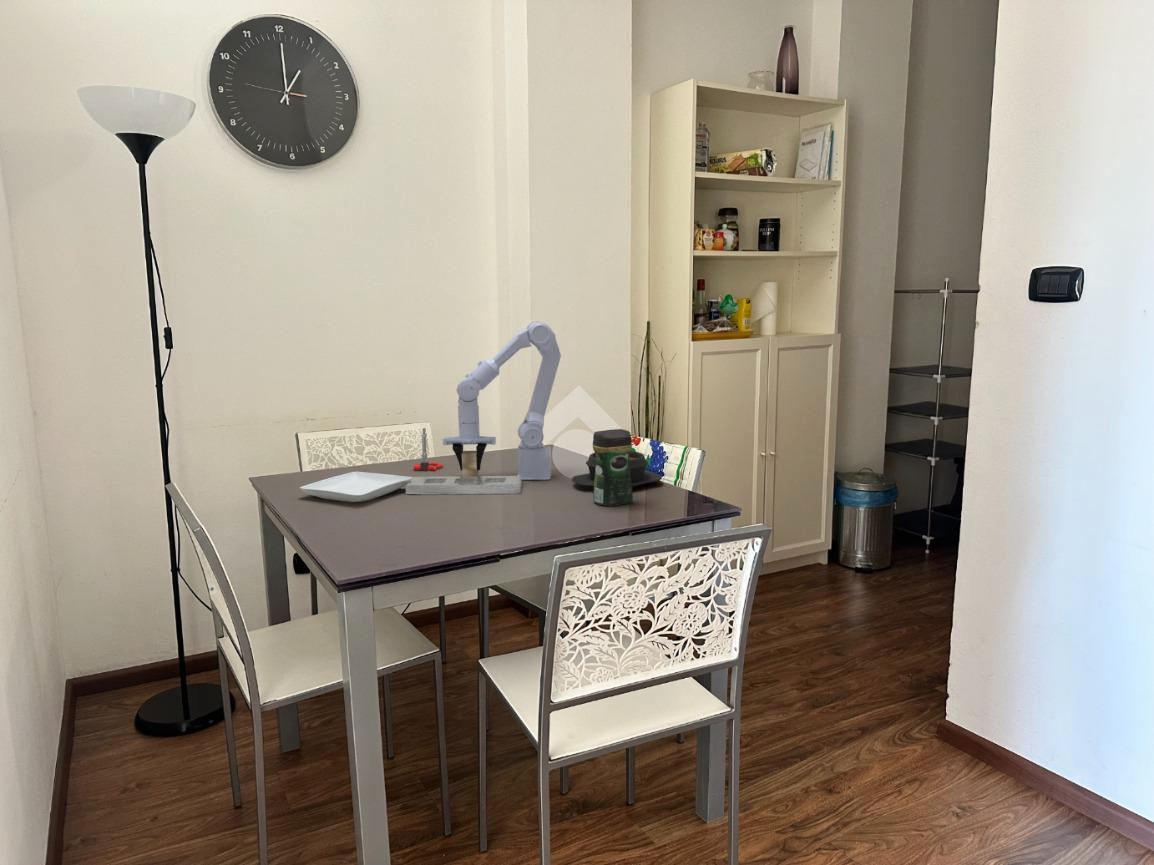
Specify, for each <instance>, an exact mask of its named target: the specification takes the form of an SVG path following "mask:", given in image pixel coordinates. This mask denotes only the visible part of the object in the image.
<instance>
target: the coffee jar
mask: <svg viewBox="0 0 1154 865" xmlns="http://www.w3.org/2000/svg"><path fill="white" fill-rule="evenodd" d="M592 439H593V440H592V450H593V453H595V458H596V466H595V480H594V486H593V492H592V494H593V498H592V499H593V501H594V503H595V504H597V505H598V506H601V505H602V506H605V507H612V506H613V505H615V506H621V505H620V504H622V505H626V504H630V503H632V501H633V500H634V499H633V498H634V495H633V488H632V484H631V475H630V451H632V447H633V443H632V435H631V432H630V431H629V430H626V429H623V428H616V429H615V428H614V429H605V430H597V431H594V432H593V436H592Z"/></svg>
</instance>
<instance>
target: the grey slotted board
mask: <svg viewBox="0 0 1154 865" xmlns="http://www.w3.org/2000/svg"><path fill="white" fill-rule="evenodd" d="M522 488H523V480H522V476H517V475H483V476H482V475H479V476H463V475H462V476H461V475H460V476H453V475H452V476H412V480H411V481H410V482H408V483H407V484H406V485H405V495H406V494H421V495H500V494H501V495H506V494H507V495H510V494H512V495H513V494H514V495H517V494H521V491H522Z"/></svg>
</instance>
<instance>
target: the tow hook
mask: <svg viewBox="0 0 1154 865" xmlns="http://www.w3.org/2000/svg"><path fill="white" fill-rule="evenodd" d="M421 436H422V437H421V440H422V441H421V442H422V443H421V447H422V453H421V462H420V463H417V464H415V465H413V471H417V470H426V471H425V472H436V471H435V470H438V469H442V468H443V467H444V464H443V463H440V462H429V461H428V453H427V434H426V427H423V428H422V435H421ZM429 465H433V466H429ZM428 470H430V471H428Z"/></svg>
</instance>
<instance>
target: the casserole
mask: <svg viewBox="0 0 1154 865" xmlns="http://www.w3.org/2000/svg"><path fill="white" fill-rule="evenodd" d="M587 459H588V460H587V461H585V464H586V466H587V468H588V472H589V473H583V474H578V475H574V476H572V478H571V481H572V482H573V483H575V484H577V485H579V486H584V487H594V480H595V466H596V458H595V452H592V453H591V454H590V455H589V457H588V458H587ZM648 465H649V462H648V461H647V460H646V457H645V454H643V453H641V452H638V451H635V450H634V451H633V450H631V451H630V475H631V484H632V489H633V488H636V487H638V486H640V485H644V484H648V483H655V482H658V481H659V482H660V481H661V480H662V478H663V477H662V475H661V474H659V473H657V472H654V471H649V470H646V467H647V466H648Z"/></svg>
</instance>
